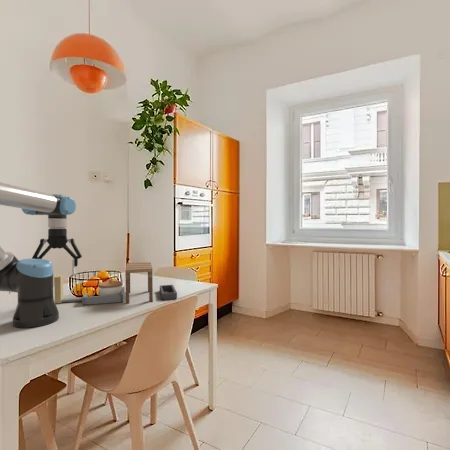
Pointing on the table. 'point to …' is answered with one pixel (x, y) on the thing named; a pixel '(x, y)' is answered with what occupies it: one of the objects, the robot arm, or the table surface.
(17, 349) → the table surface
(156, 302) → the table surface
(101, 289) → the lidded jar
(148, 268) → the tunnel
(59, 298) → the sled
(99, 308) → the table surface
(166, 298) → the box
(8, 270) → the robot arm
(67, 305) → the table surface
